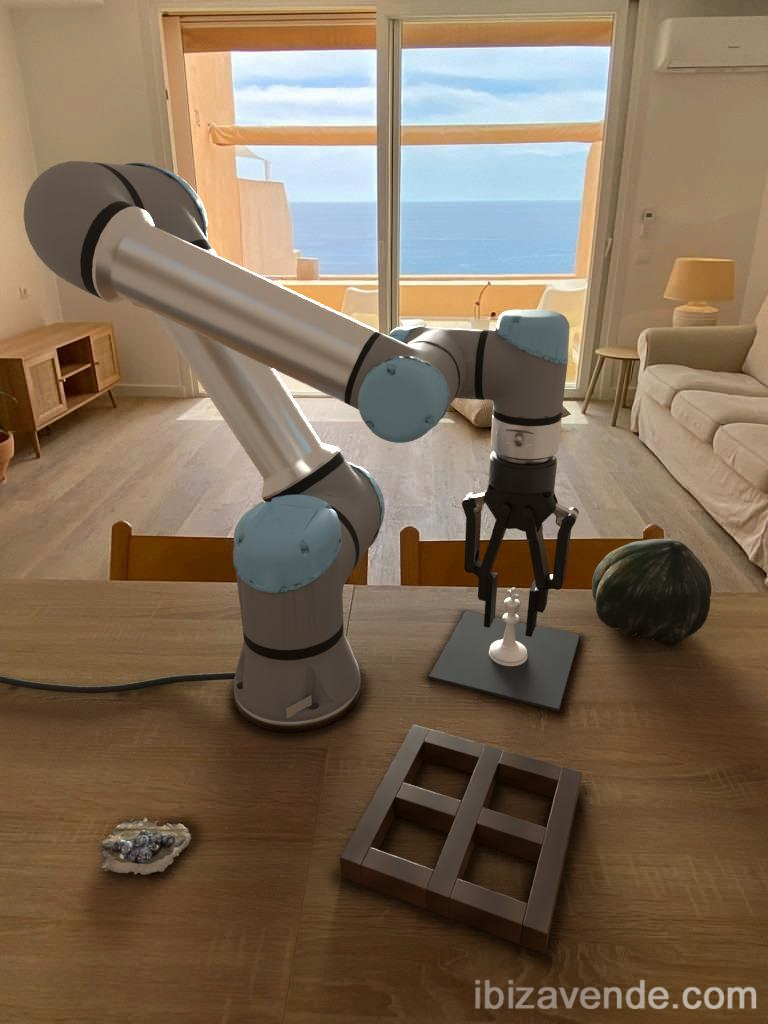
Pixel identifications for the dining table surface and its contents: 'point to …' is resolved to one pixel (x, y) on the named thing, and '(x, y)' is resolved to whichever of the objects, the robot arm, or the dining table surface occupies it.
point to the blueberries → (143, 846)
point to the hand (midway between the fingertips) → (509, 625)
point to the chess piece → (509, 636)
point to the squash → (653, 590)
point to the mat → (524, 683)
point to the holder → (468, 835)
